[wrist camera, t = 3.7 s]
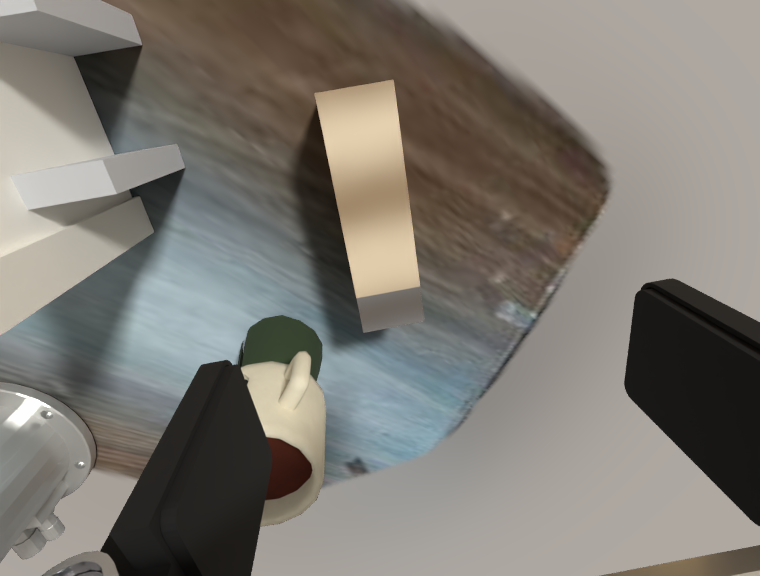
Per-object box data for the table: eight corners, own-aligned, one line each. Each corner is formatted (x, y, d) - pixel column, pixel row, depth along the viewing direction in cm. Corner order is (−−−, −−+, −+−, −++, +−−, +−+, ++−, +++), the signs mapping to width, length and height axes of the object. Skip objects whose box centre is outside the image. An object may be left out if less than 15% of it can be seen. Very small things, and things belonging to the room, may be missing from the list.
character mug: (270, 271, 30) (226, 378, 18) (354, 310, 32) (365, 429, 20) (215, 380, 33) (149, 531, 21) (295, 409, 35) (275, 561, 23)
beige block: (409, 284, 31) (424, 321, 26) (358, 293, 31) (363, 332, 26) (381, 86, 26) (393, 79, 20) (319, 96, 25) (314, 93, 20)
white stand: (204, 222, 28) (60, 346, 13) (118, 238, 28) (-124, 381, 13) (102, -70, 21) (-410, -459, 7) (-13, -51, 21) (-791, -408, 7)
